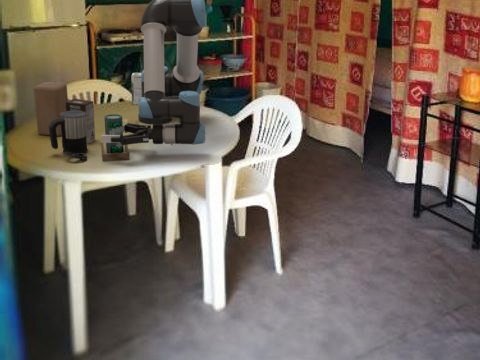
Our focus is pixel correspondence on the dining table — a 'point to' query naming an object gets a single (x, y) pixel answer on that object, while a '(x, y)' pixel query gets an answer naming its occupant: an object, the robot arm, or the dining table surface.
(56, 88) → the block
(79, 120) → the milk frother
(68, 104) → the coffee box
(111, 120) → the can
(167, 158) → the dining table surface
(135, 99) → the syrup box
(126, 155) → the brown flat u-shaped piece
